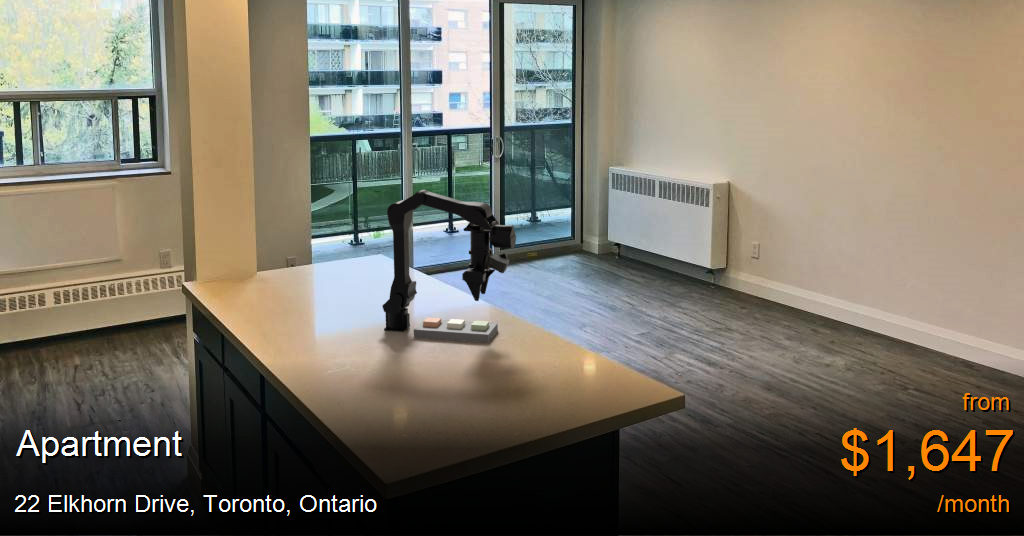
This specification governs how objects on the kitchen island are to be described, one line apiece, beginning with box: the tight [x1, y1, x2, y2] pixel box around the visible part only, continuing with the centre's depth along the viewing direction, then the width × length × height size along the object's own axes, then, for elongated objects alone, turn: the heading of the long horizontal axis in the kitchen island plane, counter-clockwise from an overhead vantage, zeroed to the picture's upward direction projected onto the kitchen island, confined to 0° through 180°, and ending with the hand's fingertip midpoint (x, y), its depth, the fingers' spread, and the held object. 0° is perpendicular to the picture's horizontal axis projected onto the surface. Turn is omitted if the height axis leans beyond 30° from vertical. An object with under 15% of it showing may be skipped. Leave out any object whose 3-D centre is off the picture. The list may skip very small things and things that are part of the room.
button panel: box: [413, 317, 499, 344], centre depth 286 cm, size 23×12×2 cm, turn 78°
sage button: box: [471, 320, 490, 331], centre depth 285 cm, size 4×4×2 cm
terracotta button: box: [422, 316, 442, 327], centre depth 288 cm, size 4×4×2 cm
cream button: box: [447, 318, 466, 329], centre depth 286 cm, size 4×4×2 cm
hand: (480, 297), depth 283 cm, fingers open, 8 cm apart
